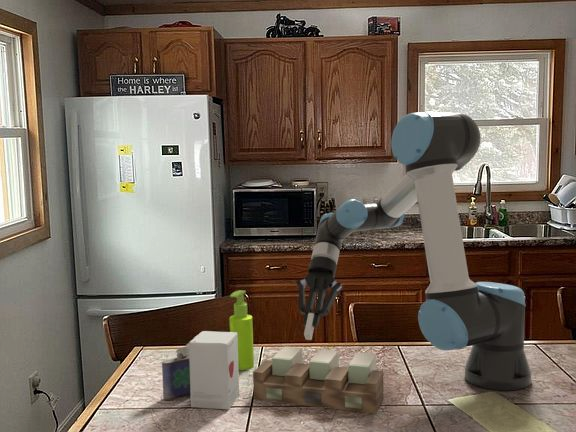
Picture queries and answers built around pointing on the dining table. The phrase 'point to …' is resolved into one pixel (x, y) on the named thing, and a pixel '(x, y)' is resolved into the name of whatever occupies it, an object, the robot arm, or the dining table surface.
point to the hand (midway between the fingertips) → (307, 337)
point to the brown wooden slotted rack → (318, 388)
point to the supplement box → (214, 370)
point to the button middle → (323, 363)
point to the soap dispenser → (242, 331)
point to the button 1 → (286, 360)
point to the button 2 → (361, 367)
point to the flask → (176, 377)
